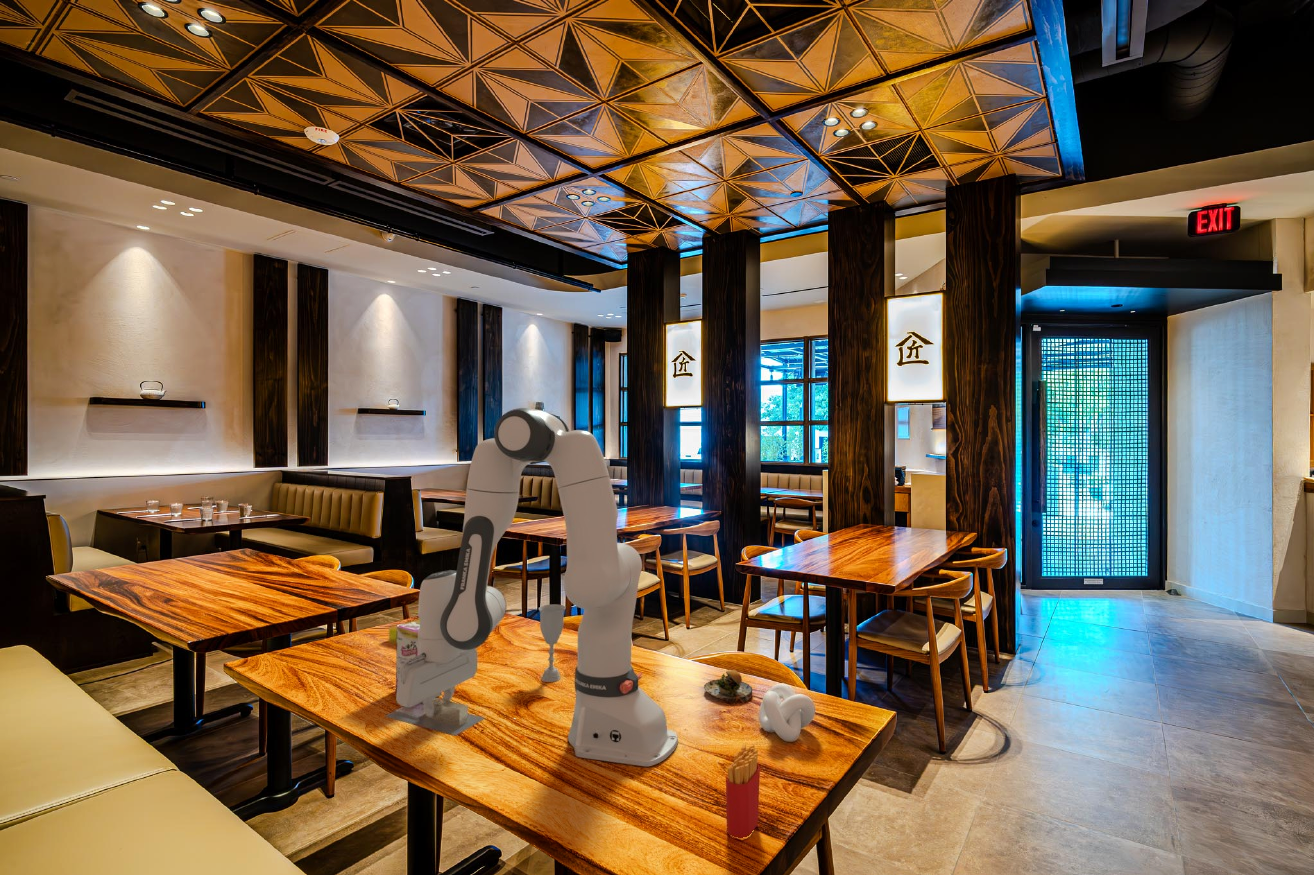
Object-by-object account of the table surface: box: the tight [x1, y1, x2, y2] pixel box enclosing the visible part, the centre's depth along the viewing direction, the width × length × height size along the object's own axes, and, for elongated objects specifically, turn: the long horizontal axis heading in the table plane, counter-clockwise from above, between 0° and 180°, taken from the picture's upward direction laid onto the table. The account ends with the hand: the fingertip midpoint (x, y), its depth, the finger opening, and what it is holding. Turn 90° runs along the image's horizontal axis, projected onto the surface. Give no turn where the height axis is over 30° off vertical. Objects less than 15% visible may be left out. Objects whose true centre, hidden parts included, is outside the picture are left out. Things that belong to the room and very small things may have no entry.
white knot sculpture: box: [758, 682, 816, 743], centre depth 130 cm, size 11×12×9 cm
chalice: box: [538, 603, 566, 683], centre depth 159 cm, size 7×7×18 cm
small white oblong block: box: [394, 697, 469, 727], centre depth 134 cm, size 17×5×4 cm, turn 65°
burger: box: [703, 664, 754, 705], centre depth 151 cm, size 12×12×8 cm
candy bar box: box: [395, 622, 442, 698], centre depth 146 cm, size 11×5×16 cm, turn 58°
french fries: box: [725, 744, 761, 838], centre depth 98 cm, size 8×4×12 cm, turn 151°
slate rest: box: [384, 702, 486, 737], centre depth 134 cm, size 20×9×1 cm, turn 65°
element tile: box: [388, 618, 420, 645], centre depth 190 cm, size 15×15×5 cm
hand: (438, 712), depth 133 cm, fingers closed on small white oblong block, 2 cm apart
